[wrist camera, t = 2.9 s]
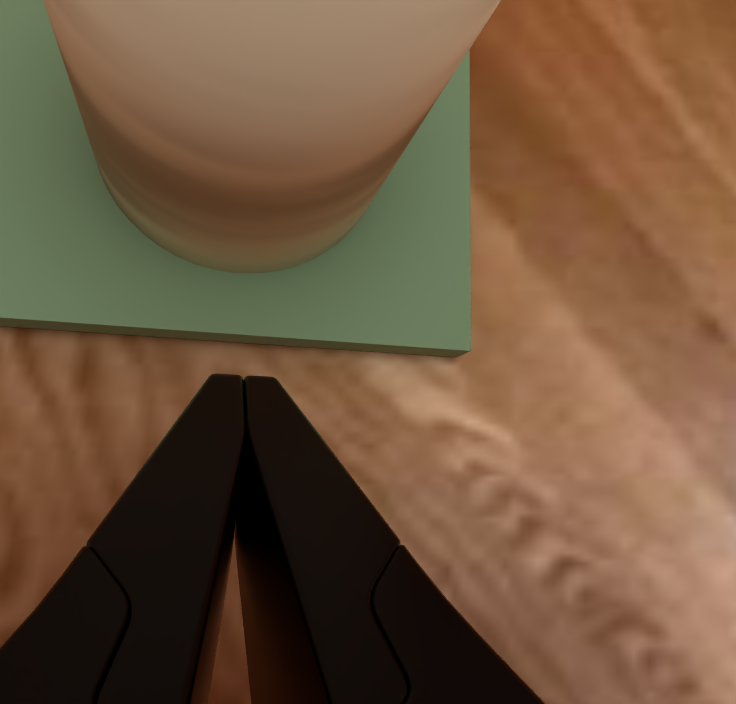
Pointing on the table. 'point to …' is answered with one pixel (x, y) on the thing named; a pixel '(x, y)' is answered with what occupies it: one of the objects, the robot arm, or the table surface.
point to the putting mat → (205, 285)
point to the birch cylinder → (255, 112)
